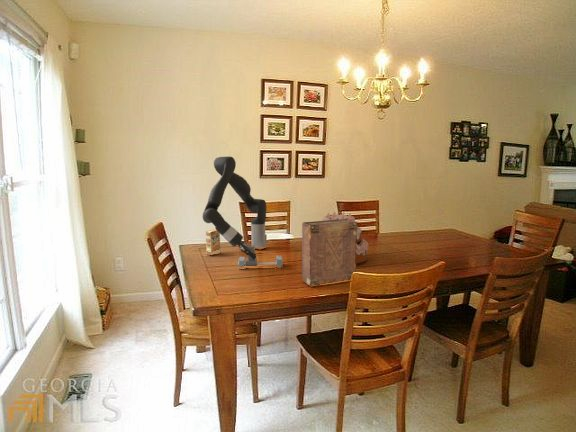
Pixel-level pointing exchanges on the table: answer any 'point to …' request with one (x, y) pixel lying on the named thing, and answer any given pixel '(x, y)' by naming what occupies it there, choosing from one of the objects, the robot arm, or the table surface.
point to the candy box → (212, 240)
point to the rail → (278, 262)
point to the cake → (361, 243)
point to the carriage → (250, 260)
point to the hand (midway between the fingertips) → (255, 257)
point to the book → (328, 251)
